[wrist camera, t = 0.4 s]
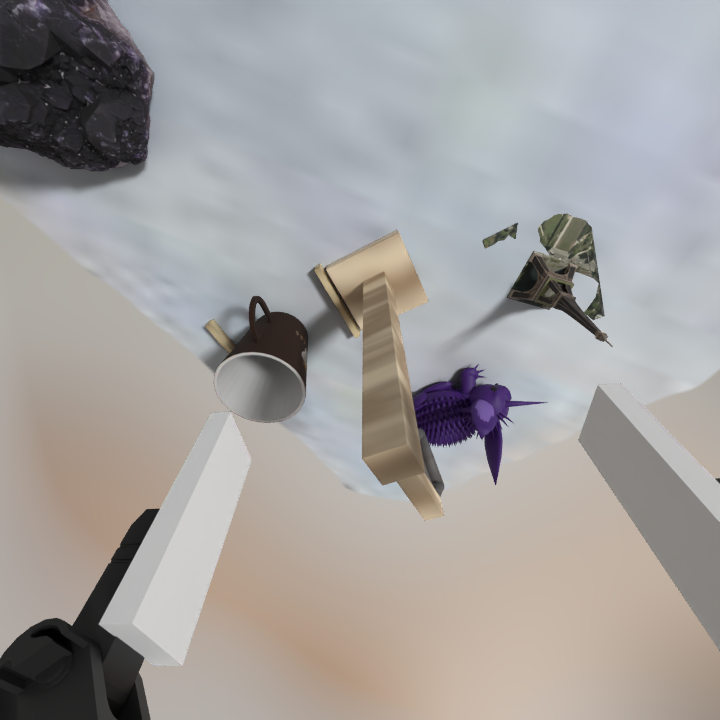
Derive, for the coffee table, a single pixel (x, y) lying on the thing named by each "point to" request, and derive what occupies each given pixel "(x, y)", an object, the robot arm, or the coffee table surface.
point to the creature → (466, 414)
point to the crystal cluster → (72, 84)
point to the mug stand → (383, 365)
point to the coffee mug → (265, 368)
